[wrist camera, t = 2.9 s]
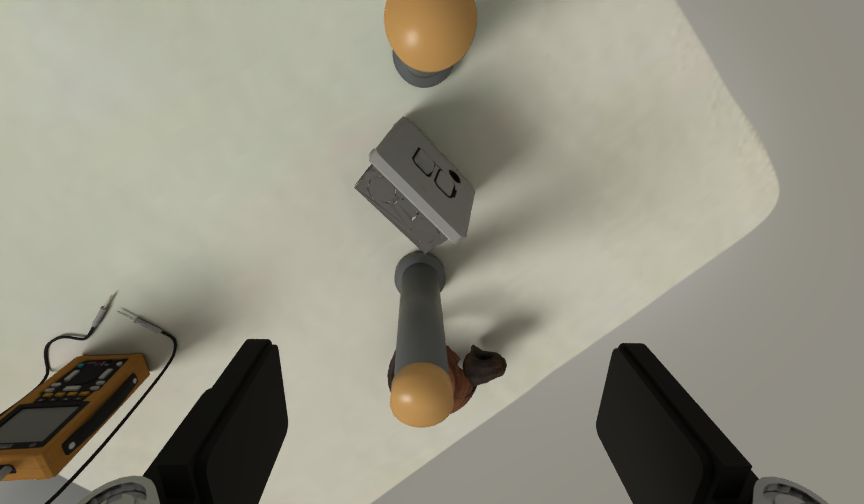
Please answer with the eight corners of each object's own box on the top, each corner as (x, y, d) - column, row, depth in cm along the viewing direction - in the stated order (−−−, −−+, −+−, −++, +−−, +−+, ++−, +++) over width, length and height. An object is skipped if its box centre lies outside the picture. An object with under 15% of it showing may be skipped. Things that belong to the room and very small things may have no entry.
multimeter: (162, 290, 40) (-55, 461, 22) (187, 371, 44) (22, 574, 26) (13, 296, 40) (-335, 475, 22) (51, 377, 44) (-216, 587, 25)
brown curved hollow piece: (427, 403, 48) (395, 435, 40) (403, 326, 48) (367, 344, 41) (524, 384, 43) (509, 416, 36) (496, 300, 44) (475, 314, 36)
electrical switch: (475, 189, 38) (483, 226, 29) (436, 224, 39) (432, 269, 31) (404, 113, 35) (390, 130, 26) (364, 154, 37) (340, 183, 28)
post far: (395, 251, 40) (378, 369, 23) (445, 251, 40) (465, 369, 23) (395, 295, 41) (380, 435, 25) (443, 296, 42) (461, 434, 25)
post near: (393, 19, 32) (367, -57, 15) (455, 21, 32) (496, -51, 16) (393, 86, 34) (371, 84, 17) (452, 88, 34) (486, 88, 17)
